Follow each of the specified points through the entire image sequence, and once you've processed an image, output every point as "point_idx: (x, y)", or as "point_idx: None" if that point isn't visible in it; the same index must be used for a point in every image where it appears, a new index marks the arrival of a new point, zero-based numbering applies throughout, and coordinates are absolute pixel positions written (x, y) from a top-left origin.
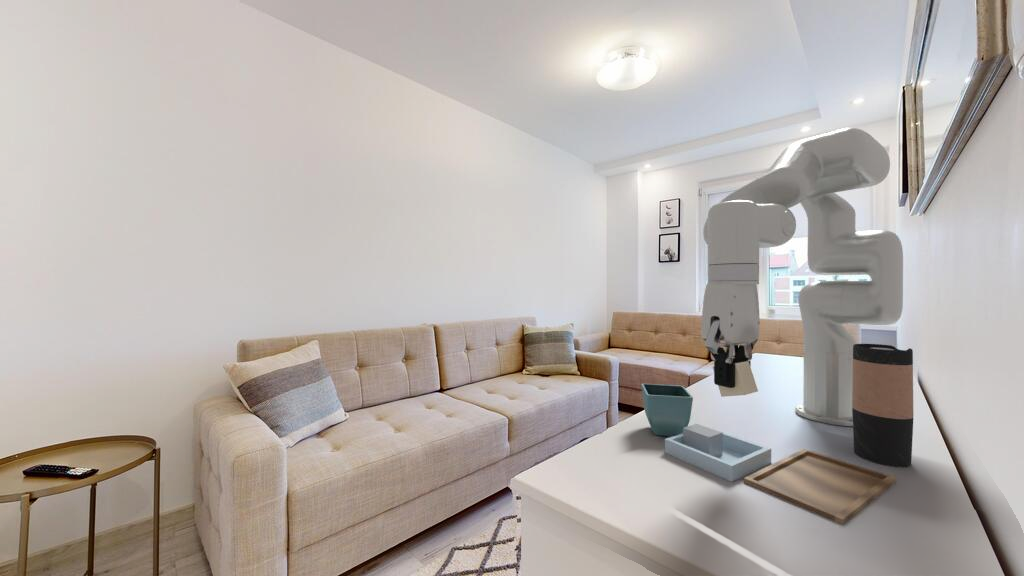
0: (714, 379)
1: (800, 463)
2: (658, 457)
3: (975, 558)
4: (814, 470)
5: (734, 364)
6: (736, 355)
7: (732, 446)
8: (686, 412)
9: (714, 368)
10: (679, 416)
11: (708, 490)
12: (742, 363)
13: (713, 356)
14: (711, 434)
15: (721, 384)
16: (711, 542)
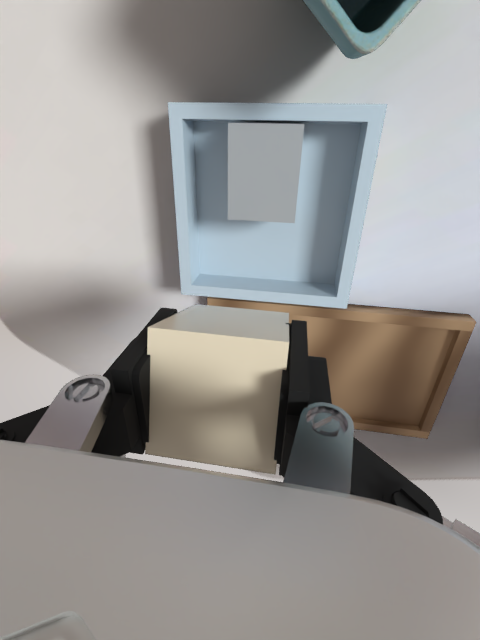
0: (156, 315)
1: (387, 330)
2: (160, 104)
3: (269, 473)
4: (369, 353)
5: (137, 450)
6: (287, 441)
7: (347, 213)
8: (340, 46)
9: (133, 343)
10: (322, 24)
11: (141, 263)
12: (212, 459)
13: (35, 412)
14: (252, 211)
15: None
16: (46, 323)
